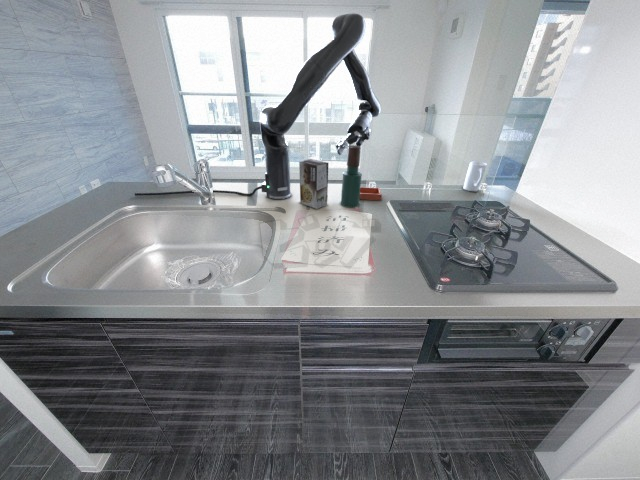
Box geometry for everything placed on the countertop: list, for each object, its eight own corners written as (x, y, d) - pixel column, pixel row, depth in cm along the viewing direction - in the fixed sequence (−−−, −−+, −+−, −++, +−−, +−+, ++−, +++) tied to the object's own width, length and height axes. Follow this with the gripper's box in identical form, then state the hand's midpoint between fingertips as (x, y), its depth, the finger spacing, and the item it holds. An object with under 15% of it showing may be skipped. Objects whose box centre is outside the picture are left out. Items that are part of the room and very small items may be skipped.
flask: (340, 206, 101) (343, 167, 93) (341, 200, 107) (343, 162, 99) (358, 207, 100) (362, 168, 93) (358, 201, 106) (362, 163, 99)
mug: (460, 186, 126) (468, 161, 120) (475, 187, 126) (483, 161, 120) (468, 193, 118) (476, 166, 112) (484, 194, 117) (493, 167, 111)
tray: (357, 199, 108) (358, 193, 107) (357, 192, 116) (357, 186, 114) (380, 200, 108) (381, 194, 107) (378, 193, 115) (379, 188, 114)
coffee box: (327, 205, 102) (329, 162, 94) (316, 209, 98) (317, 165, 90) (311, 198, 107) (311, 158, 100) (299, 203, 103) (298, 160, 95)
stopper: (346, 173, 96) (348, 147, 91) (346, 170, 100) (347, 145, 95) (358, 174, 95) (361, 148, 91) (358, 170, 99) (360, 145, 95)
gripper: (340, 126, 113) (328, 147, 103) (370, 112, 104) (360, 133, 95) (348, 141, 117) (337, 162, 107) (378, 129, 108) (369, 151, 99)
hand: (348, 149), depth 101 cm, fingers open, 8 cm apart
